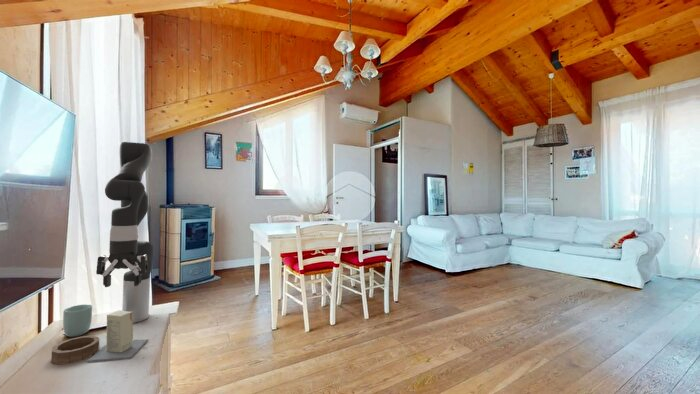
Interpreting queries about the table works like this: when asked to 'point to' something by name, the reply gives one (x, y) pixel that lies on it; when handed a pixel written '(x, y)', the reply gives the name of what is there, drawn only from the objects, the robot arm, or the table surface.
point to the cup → (77, 320)
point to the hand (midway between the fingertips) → (122, 286)
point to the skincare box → (119, 331)
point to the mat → (127, 354)
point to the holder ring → (75, 349)
